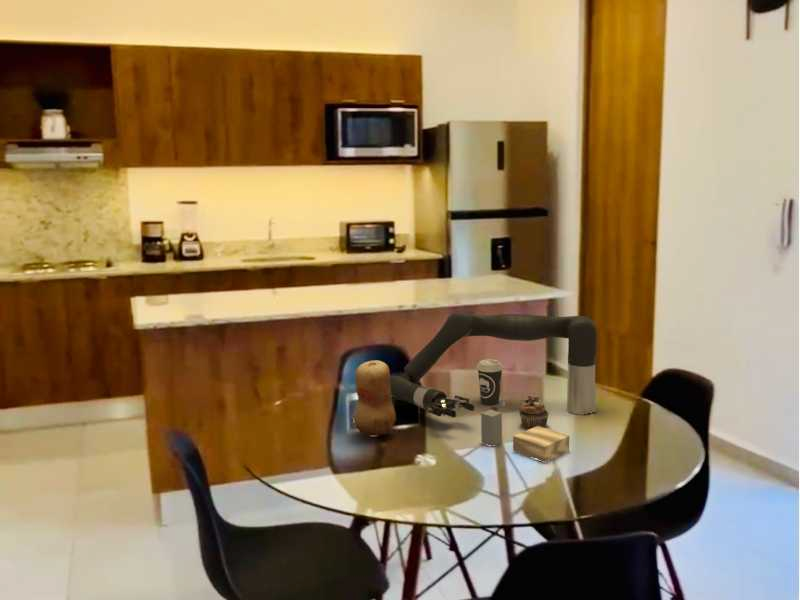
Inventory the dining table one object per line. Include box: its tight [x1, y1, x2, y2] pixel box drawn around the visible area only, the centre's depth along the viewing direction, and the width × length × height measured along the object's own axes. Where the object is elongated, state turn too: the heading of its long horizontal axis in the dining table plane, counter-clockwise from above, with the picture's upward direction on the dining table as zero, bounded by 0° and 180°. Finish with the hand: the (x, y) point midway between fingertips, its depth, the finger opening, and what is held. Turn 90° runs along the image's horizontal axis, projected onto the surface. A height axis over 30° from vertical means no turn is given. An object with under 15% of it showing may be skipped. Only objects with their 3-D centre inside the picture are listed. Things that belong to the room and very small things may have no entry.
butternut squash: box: [353, 359, 397, 436], centre depth 249 cm, size 14×13×25 cm
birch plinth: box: [512, 426, 570, 463], centre depth 235 cm, size 12×12×5 cm
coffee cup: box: [476, 359, 504, 406], centre depth 279 cm, size 10×10×15 cm
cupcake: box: [519, 395, 550, 431], centre depth 255 cm, size 10×10×10 cm
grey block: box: [480, 409, 503, 447], centre depth 242 cm, size 4×4×10 cm
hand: (464, 411), depth 250 cm, fingers open, 8 cm apart
